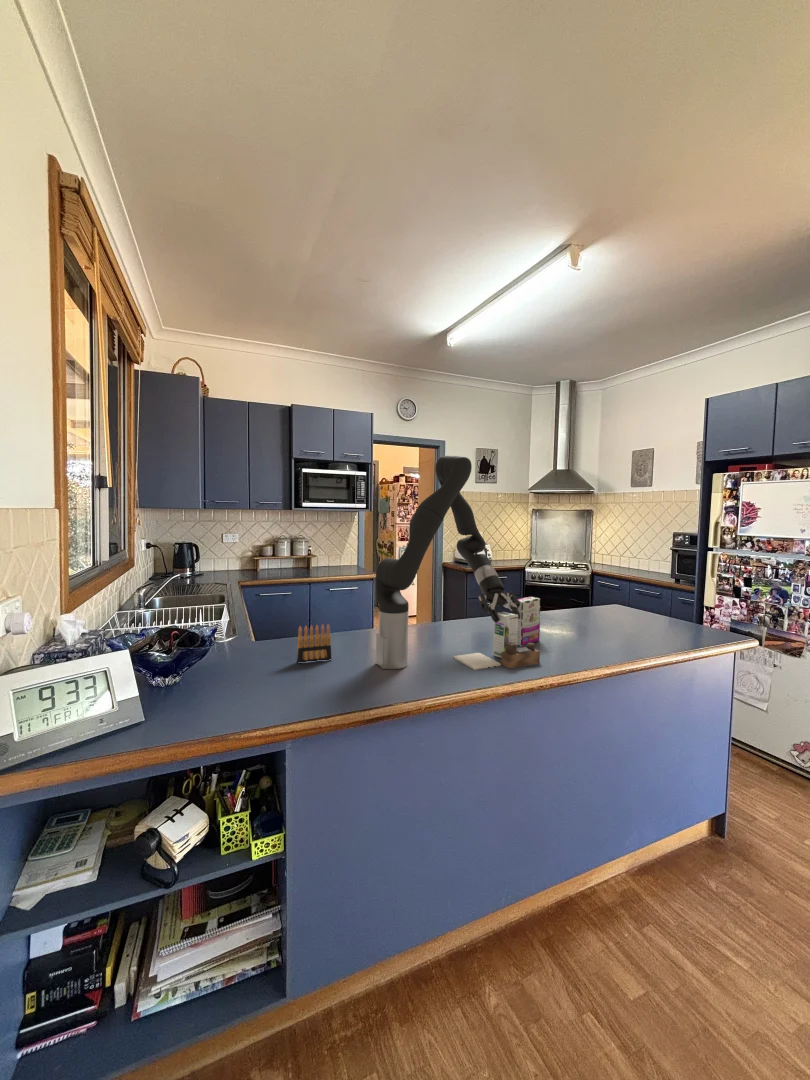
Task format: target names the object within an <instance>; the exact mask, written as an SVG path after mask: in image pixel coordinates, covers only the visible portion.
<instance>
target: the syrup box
mask: <svg viewBox="0 0 810 1080" xmlns="http://www.w3.org/2000/svg"><path fill="white" fill-rule="evenodd" d="M497 614H498V617H499V619H500V620H499V621H498V622H497V623H495V622H494V621H493V622H494V625H493V626H494V627H493V628H494V631H493V649H492V650H493V652H492V655H493V657H498V658H501V659H502V652H505V651H506V643H508V642H512V643H514V644H517V631H518V615H515V614H512V612H507V611H499V612H497Z"/></svg>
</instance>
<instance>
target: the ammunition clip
mask: <svg viewBox="0 0 810 1080" xmlns="http://www.w3.org/2000/svg"><path fill="white" fill-rule="evenodd" d="M325 631H326V632H325ZM308 632H309V633H308ZM297 633H298V634H297V649H296V650H297V651H296V662H297V661H298V662H306V661H317V660H329V659H332V639H331V638H332V637H331V636H332V635H331V627H330V623H327V625H326V630H325V625H324V623H322V624H321V626H320V629H319V625H318V624H316V625H315V629H314V628H313V625H312V624H310V627H309V631H308V627H307V625H305V626H304V629H303V628H302V626H301V625H299V627H298V632H297Z"/></svg>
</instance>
